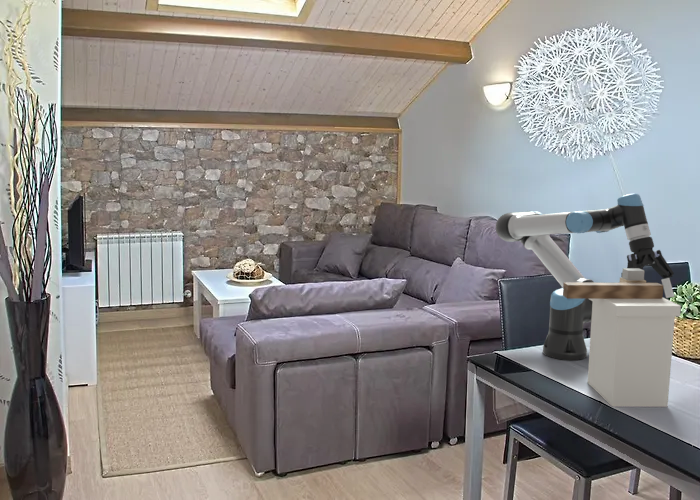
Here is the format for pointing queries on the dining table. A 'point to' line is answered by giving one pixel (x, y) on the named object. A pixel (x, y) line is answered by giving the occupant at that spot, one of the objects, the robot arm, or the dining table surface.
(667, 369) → the cream stand
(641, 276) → the grey offcut
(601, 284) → the walnut block
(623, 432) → the dining table surface
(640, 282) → the birch offcut
